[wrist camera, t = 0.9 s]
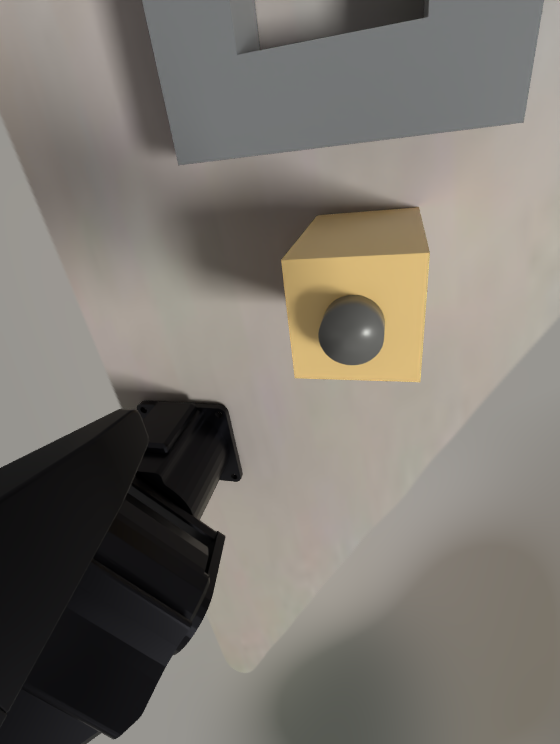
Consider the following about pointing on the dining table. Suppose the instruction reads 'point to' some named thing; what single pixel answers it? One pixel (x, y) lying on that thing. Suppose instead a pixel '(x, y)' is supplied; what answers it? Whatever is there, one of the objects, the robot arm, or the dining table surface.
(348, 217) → the plug
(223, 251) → the dining table surface
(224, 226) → the dining table surface
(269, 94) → the socket
